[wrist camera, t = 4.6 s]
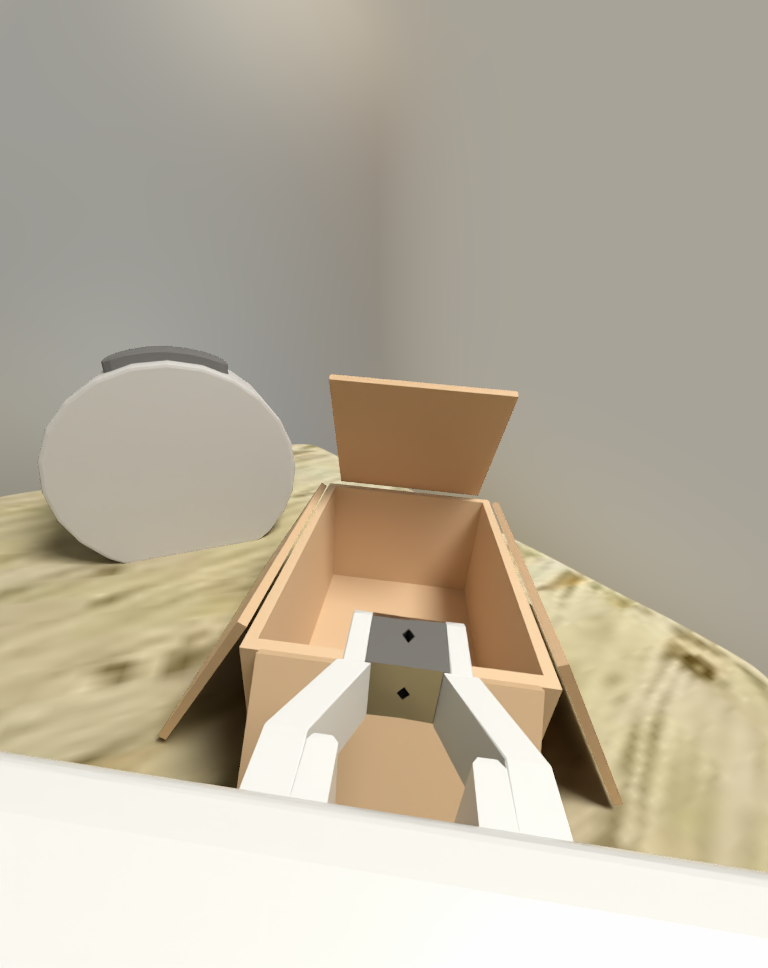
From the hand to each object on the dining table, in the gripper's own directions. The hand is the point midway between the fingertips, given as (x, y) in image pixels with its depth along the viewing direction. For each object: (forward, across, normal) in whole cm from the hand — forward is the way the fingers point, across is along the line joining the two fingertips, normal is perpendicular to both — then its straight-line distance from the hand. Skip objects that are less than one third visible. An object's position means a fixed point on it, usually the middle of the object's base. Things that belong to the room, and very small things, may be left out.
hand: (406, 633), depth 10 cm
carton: (+10, 0, +16) cm, 19 cm away
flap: (+22, 0, +6) cm, 23 cm away
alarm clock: (+26, +23, +16) cm, 38 cm away
